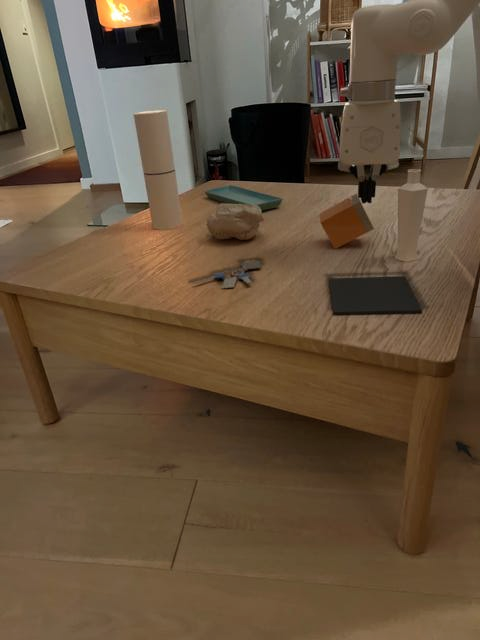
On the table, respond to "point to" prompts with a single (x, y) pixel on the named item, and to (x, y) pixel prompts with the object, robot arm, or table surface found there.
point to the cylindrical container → (158, 168)
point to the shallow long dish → (243, 197)
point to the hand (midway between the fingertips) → (366, 201)
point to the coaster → (372, 296)
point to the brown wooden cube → (345, 221)
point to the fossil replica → (235, 221)
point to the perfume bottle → (410, 215)
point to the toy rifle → (231, 281)
